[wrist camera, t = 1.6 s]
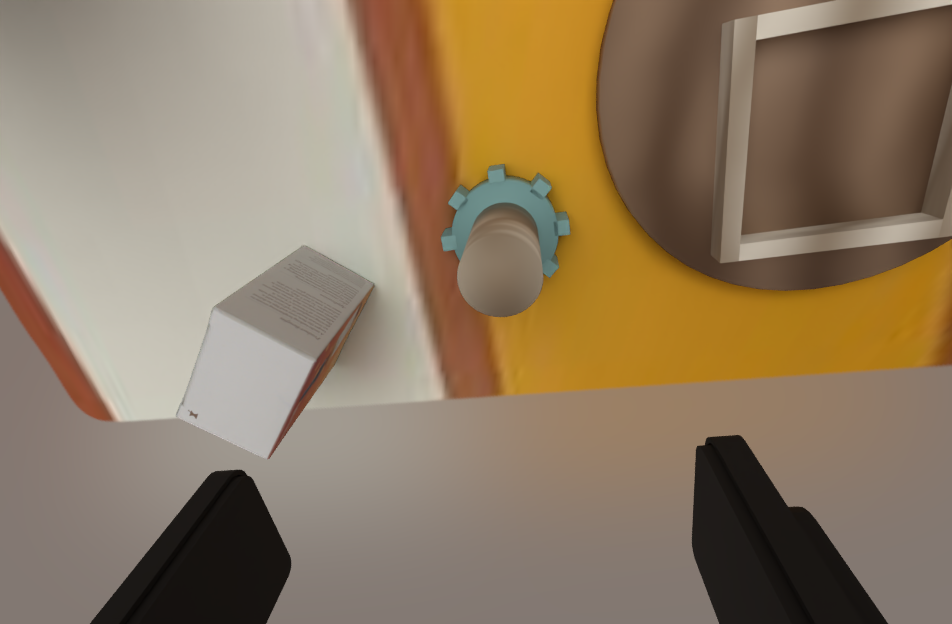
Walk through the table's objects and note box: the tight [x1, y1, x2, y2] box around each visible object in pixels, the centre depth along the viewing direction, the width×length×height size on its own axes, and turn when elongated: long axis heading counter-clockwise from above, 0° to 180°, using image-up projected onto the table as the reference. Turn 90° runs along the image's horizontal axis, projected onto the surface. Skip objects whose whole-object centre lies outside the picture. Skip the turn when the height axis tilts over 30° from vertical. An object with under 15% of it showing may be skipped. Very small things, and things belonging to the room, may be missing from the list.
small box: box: [176, 246, 374, 459], centre depth 29 cm, size 8×6×10 cm
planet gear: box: [441, 164, 570, 317], centre depth 26 cm, size 8×8×9 cm
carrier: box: [596, 0, 952, 291], centre depth 22 cm, size 24×24×4 cm
